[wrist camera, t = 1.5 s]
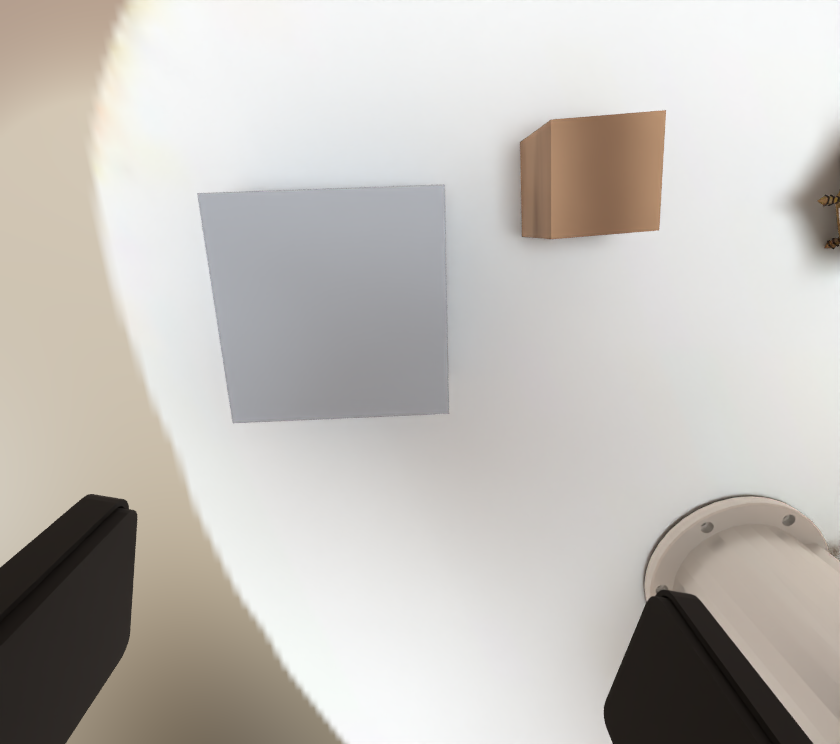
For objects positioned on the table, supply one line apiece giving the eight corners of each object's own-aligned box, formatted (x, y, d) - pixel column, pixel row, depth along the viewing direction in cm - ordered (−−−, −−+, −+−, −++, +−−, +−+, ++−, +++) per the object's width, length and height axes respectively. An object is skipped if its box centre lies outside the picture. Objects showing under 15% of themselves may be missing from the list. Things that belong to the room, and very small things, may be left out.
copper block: (610, 134, 27) (666, 110, 21) (607, 229, 28) (659, 230, 23) (520, 142, 27) (550, 119, 21) (521, 236, 28) (551, 239, 23)
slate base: (436, 193, 28) (444, 184, 22) (440, 378, 31) (448, 413, 25) (240, 200, 28) (197, 193, 22) (264, 386, 31) (232, 423, 25)
